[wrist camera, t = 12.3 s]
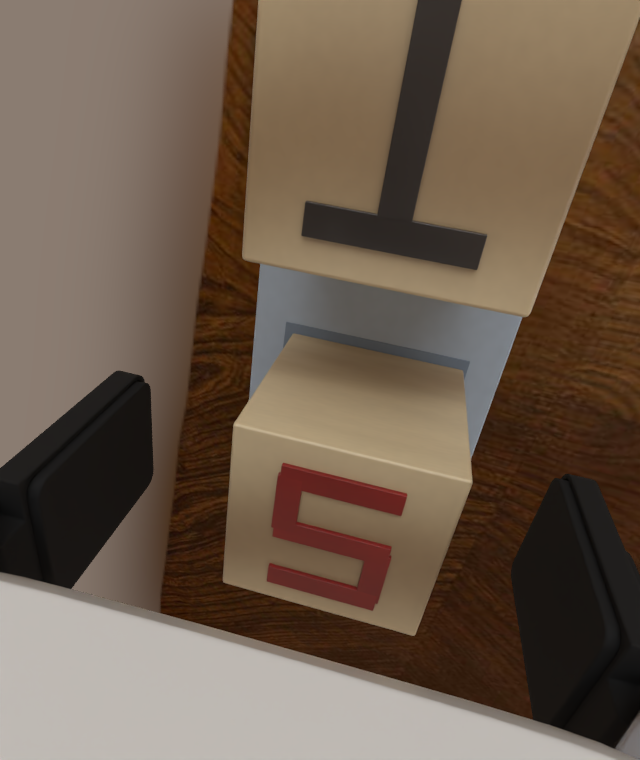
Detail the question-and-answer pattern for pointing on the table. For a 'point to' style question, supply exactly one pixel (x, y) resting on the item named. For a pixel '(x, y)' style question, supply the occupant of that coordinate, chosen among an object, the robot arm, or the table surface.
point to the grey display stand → (384, 330)
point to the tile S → (348, 481)
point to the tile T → (426, 139)
